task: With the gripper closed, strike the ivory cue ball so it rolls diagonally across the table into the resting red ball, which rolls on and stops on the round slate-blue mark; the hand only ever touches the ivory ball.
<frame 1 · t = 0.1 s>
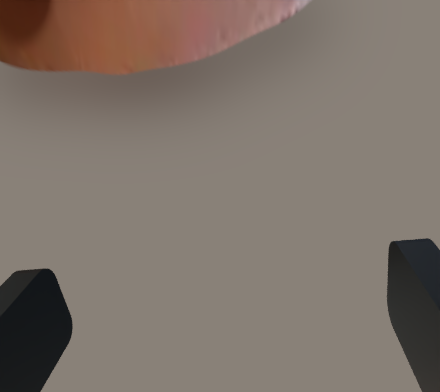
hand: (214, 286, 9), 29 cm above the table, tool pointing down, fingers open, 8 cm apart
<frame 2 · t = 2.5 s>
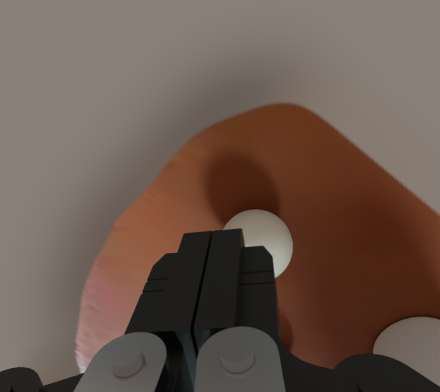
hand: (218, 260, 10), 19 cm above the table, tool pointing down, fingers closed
cue ball: (255, 245, 29), on the table
pill bottle: (414, 345, 35), on the table
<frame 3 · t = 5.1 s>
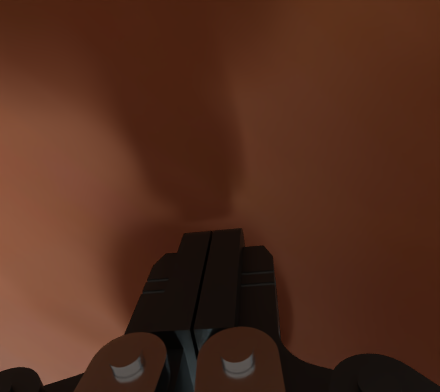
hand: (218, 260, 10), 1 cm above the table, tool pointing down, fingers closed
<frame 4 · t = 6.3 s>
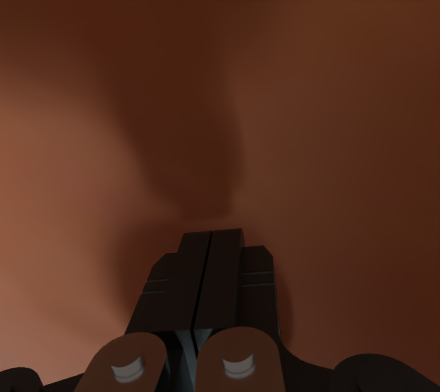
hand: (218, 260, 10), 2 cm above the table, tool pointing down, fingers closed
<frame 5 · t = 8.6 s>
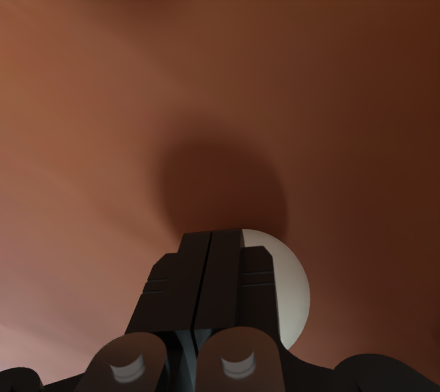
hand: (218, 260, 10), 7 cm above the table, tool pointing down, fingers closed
cue ball: (242, 294, 16), on the table
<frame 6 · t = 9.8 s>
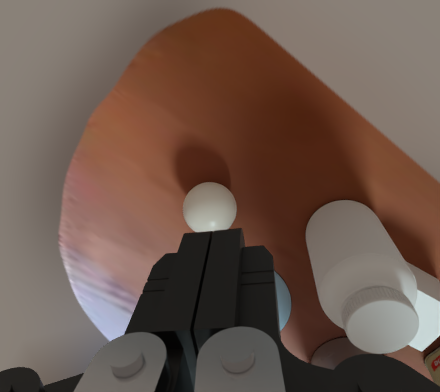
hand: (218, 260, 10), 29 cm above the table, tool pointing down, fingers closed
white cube: (397, 283, 44), on the table
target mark: (233, 304, 47), on the table
cue ball: (209, 208, 39), on the table
pill bottle: (340, 229, 42), on the table
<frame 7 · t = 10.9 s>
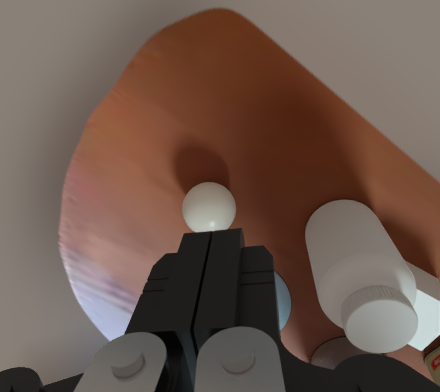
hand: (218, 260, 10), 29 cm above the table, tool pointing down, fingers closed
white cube: (397, 283, 44), on the table
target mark: (233, 303, 47), on the table
cue ball: (209, 208, 39), on the table
pill bottle: (339, 228, 42), on the table
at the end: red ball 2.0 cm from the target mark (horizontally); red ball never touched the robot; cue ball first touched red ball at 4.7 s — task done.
